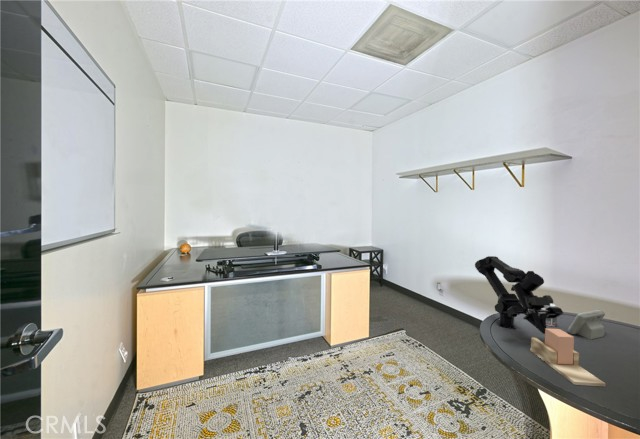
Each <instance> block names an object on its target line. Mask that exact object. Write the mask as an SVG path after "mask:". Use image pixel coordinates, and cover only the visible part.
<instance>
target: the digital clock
mask: <svg viewBox="0 0 640 439" xmlns="http://www.w3.org/2000/svg"><path fill="white" fill-rule="evenodd" d="M605 316H606V313H605V311H604V310H600V309H596V310H590V311H585V312H581V313H577V314H576V315H575V318H574V319H573V321H571V324H570V325H569V327H568V328H567V332H568V333H567V334H569V335H578V336H581V337H582V338H583V337H584V338H586V339H589V340H593V339H597V338H598V339H599V338H603V337H605V326H604V325H603V324H602V323H601V322H602V319H603V318H604V317H605Z"/></svg>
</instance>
